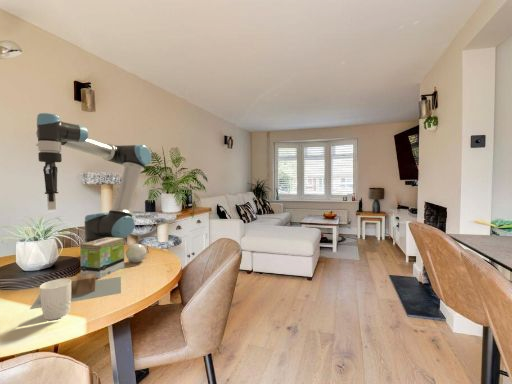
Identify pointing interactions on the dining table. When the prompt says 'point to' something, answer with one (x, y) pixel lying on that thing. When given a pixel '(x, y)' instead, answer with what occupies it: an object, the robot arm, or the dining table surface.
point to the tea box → (102, 256)
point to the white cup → (55, 298)
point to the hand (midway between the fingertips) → (52, 209)
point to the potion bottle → (136, 252)
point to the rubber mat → (101, 289)
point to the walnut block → (82, 283)
